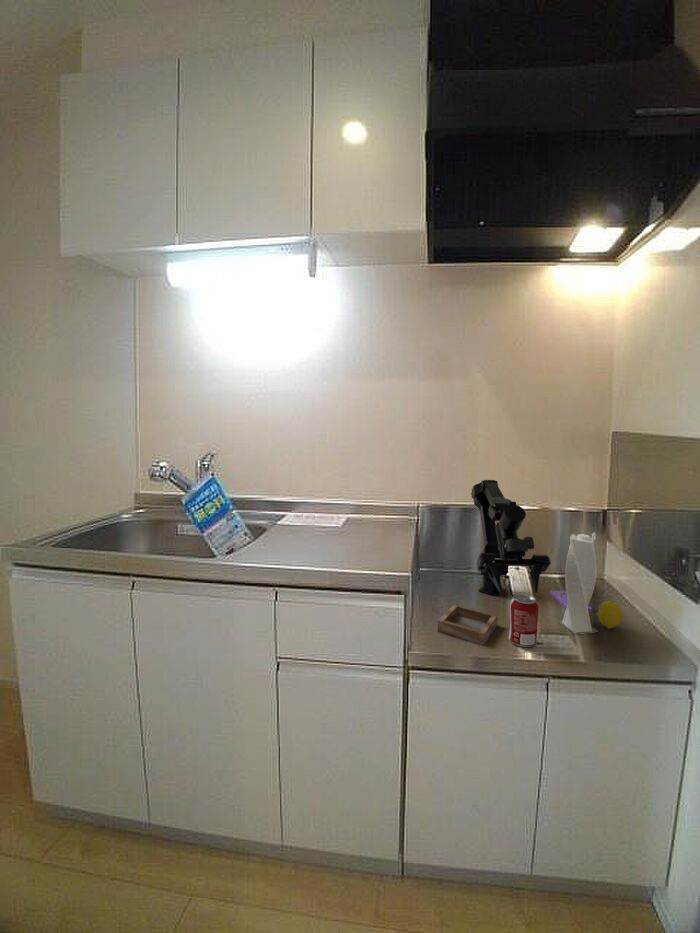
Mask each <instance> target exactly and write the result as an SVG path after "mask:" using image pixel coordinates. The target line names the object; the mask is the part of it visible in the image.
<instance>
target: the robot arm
mask: <svg viewBox="0 0 700 933" xmlns="http://www.w3.org/2000/svg"><path fill="white" fill-rule="evenodd" d="M471 491H472V492H471ZM471 491H470V492H471V493H470V494H471V495H470V496H471V499H472V500H473V505H474V506H475V507H476V506H477V507H478V508H479V509H478V508H477V507H476V508H477V509H478V510H479V516H480V522H481V530H482V537H483V547H484V548H483V549H482V552H480V554H479V555H478V558H477V561H476V568H477V569H476V570H477V571H478V573H479V575H481V576H482V582H481V583H482V584H481V586H480V587H479V589H478V592H480V593H483V594H488V595H491V596H496V597H499V596H500V594H501V593H502V592H503V591H504V588H503V587H502V582H501V580H502V578H501V577H502V576H506V577H507V575H508V572H509V566H515V567H516V566H517V567H529V570H530V572H529V576H530V580H531V585H532V590H533V592H534V594H537V593H538V589H539V583H540V576H541V575H542V574H543V573H544V572H546V571H547V569H548V568H549V567H550V565H551V564H552V563H551V559H550V557H549V555H547V554H539V553H538V554H537V553H536V554H535V553H534V554H533V555H532V557H531V558H524V557H525V556H526V553H528V552H529V550H533V549H534V548H535V541H534V539H533V536H526V537H524V538H523V539H521V538H520V537H519V535H518V530H520V529H521V526H522V525H523V522H524V520H525V518H526V516H527V513H526V511H525V510H524V508H523V507H522V506H520V505H518V504H517V502H516V501H513V500H511V499H509V498H506V497H505V496H504V494H503V492H502V491H501V488H500V487H499V482H498V480H495V479H483V480H481V481H480V482H479V483H477V484H473V487H472V488H471ZM496 522H497V523H496Z"/></svg>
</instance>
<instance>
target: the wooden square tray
mask: <svg viewBox="0 0 700 933" xmlns="http://www.w3.org/2000/svg"><path fill="white" fill-rule="evenodd" d="M497 625H498V614H494V613H490V612H486V611H482V610H479V609H475V608H470V607H467V606H463V605H459V604H455V603H454V604H453V605H452V606H451V607H450V608H448V610H447V611H445V613H444V614H443V615H442V616H441V617H440V618H439V619H438V620H437V632H439V633H441V634H445V635H449V636H451V635H452V637H456V638H458V637H459V639H462V640H465V641H468V642H472V643H475V644H478V645H481V646H484V645H485V644H486V642H487V641H488V639H489V638H490V636H491V635H492V634H493V633H494V630H495V629H496V628H497Z"/></svg>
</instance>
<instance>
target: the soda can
mask: <svg viewBox="0 0 700 933" xmlns="http://www.w3.org/2000/svg"><path fill="white" fill-rule="evenodd" d="M508 619H509V620H508V634H507V635H508V636H507V638H508V640H509V641H510V643H512V644H514V645H516V646H517V647H519V648H520V647H521V648H530V647H534V646H535V645H536V644H537V641H538V640H537V639H538V638H537V636H538V621H539V620H538V619H539V604H538V603H537V599H536V597H534V596H533V595H530V594H526V593H514V594H513V596H512V599H511V600H510V601H509V616H508Z"/></svg>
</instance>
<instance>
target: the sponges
mask: <svg viewBox="0 0 700 933" xmlns="http://www.w3.org/2000/svg"><path fill="white" fill-rule="evenodd" d="M549 595H550V596H551V597H552V598H553V599H554V600H555V601H556V602H557V603H559V604H560V605H561V606H562V607H563V608H564V609H565V610H566V608H567V604H568V603H567V596H566V590H550V591H549ZM587 607H588V611H593V608H592V607H591V605H590V606H589V605H588V606H587Z"/></svg>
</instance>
